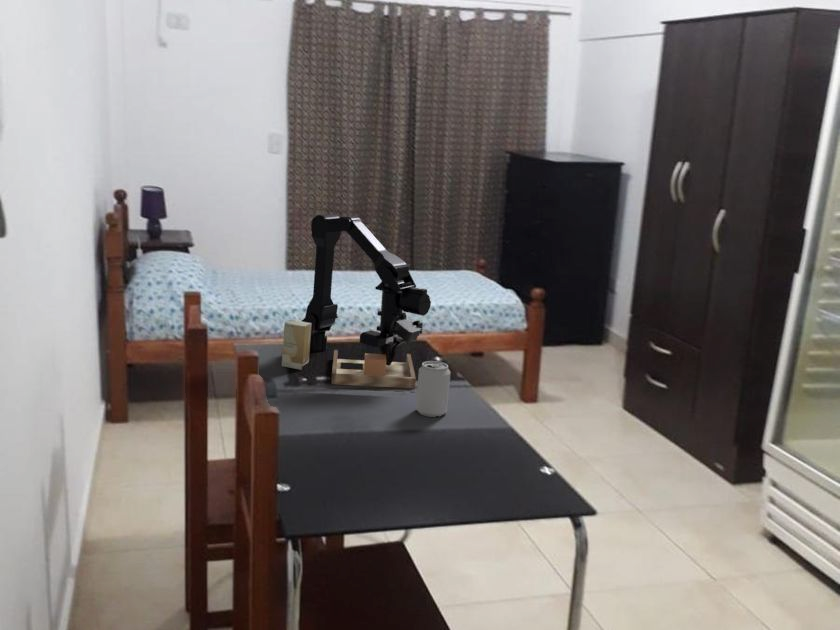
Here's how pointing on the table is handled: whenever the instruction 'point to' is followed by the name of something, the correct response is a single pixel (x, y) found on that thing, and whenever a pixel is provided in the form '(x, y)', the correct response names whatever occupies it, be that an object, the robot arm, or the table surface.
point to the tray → (394, 376)
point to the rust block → (375, 364)
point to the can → (433, 388)
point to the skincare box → (296, 344)
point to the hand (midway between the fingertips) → (388, 365)
